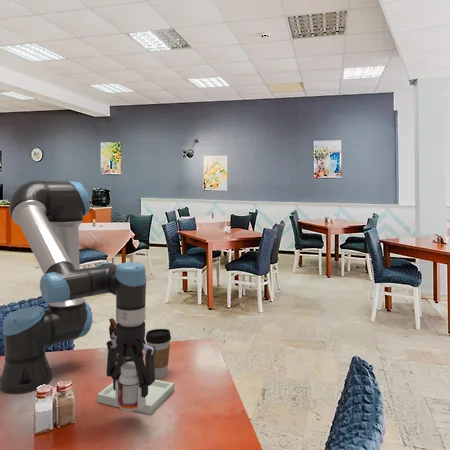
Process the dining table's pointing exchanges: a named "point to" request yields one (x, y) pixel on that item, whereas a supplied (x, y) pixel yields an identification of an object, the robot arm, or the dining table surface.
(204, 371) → the dining table surface
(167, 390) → the tray
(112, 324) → the mug
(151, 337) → the coffee cup
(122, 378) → the pill bottle
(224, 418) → the dining table surface
